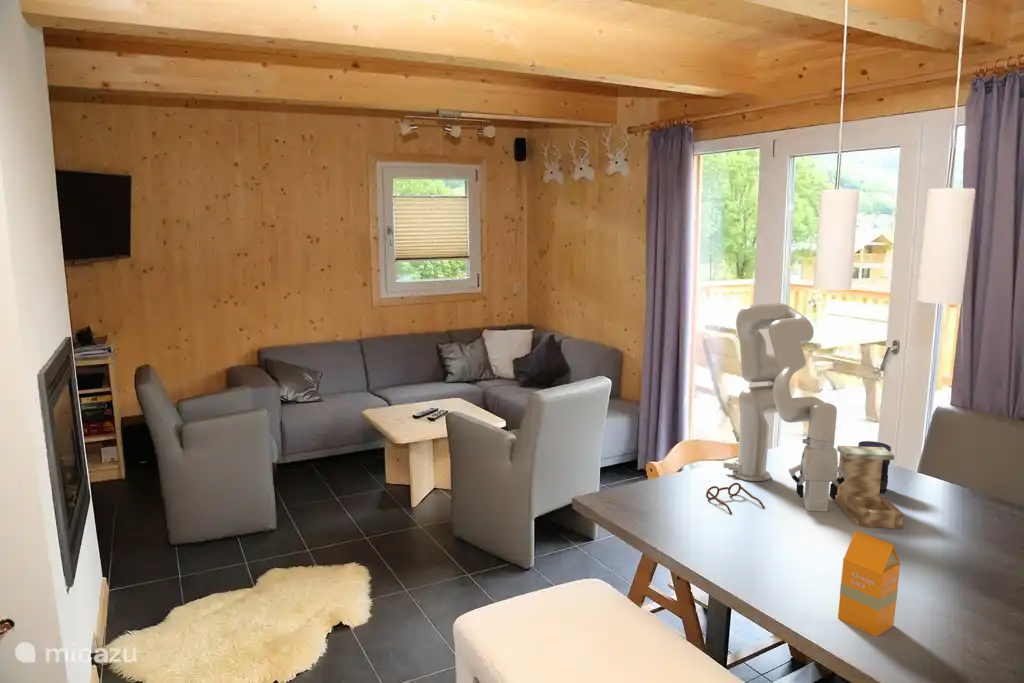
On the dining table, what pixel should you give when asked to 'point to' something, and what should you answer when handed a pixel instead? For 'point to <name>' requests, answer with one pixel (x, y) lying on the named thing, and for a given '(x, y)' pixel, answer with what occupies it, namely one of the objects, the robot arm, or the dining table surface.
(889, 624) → the orange juice
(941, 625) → the dining table surface
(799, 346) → the robot arm
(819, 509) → the skincare box
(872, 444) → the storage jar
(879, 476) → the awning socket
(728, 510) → the glasses
